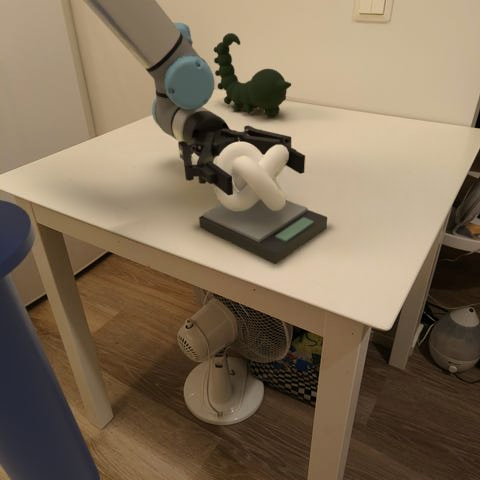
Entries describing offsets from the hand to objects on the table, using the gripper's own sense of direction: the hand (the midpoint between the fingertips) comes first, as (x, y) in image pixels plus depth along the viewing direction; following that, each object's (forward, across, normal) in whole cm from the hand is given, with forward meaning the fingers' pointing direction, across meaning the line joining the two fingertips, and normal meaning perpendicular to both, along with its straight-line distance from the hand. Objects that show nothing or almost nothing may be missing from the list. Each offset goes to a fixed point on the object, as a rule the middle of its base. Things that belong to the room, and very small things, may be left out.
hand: (267, 175), depth 65 cm
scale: (-2, 0, -10) cm, 10 cm away
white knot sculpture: (-3, 0, -6) cm, 7 cm away
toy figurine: (-53, -30, -10) cm, 62 cm away
